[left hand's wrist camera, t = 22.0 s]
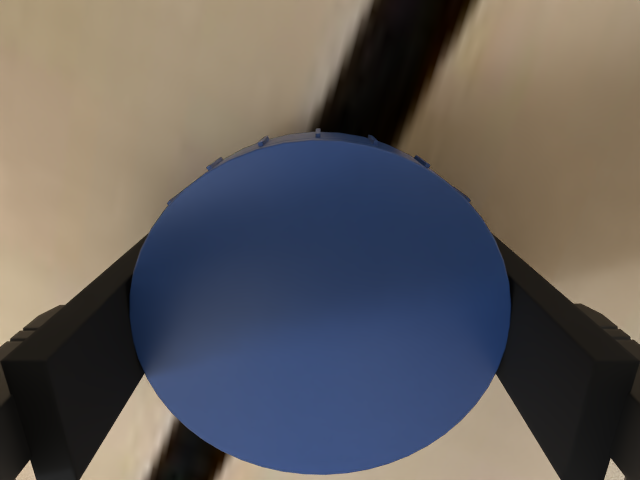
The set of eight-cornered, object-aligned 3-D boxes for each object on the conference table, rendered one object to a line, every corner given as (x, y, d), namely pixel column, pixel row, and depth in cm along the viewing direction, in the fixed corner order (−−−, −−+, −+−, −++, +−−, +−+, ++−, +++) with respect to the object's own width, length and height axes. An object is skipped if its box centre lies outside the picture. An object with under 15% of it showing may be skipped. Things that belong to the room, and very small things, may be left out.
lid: (79, 250, 11) (40, 276, 10) (385, 48, 10) (398, 41, 8) (274, 472, 14) (268, 521, 12) (540, 345, 12) (572, 383, 11)
